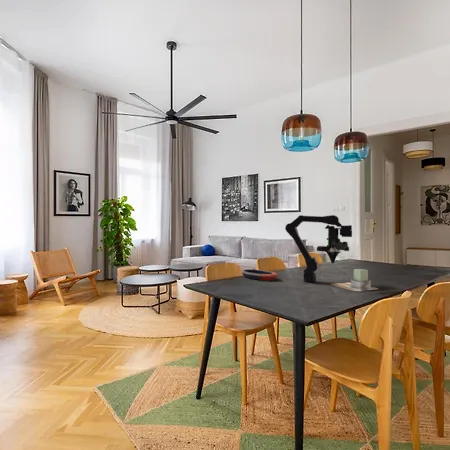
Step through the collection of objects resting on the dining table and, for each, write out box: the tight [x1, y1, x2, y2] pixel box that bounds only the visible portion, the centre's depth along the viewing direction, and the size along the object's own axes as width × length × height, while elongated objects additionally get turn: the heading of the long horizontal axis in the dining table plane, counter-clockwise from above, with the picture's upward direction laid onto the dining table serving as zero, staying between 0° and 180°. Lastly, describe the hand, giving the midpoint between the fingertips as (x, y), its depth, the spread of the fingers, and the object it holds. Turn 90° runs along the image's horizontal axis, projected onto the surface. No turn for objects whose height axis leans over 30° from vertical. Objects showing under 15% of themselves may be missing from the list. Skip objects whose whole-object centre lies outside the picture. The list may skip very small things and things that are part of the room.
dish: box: [240, 268, 279, 281], centre depth 210 cm, size 16×31×5 cm, turn 38°
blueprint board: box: [330, 278, 378, 294], centre depth 176 cm, size 16×20×6 cm
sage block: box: [353, 268, 369, 281], centre depth 171 cm, size 5×5×6 cm
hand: (332, 263), depth 185 cm, fingers closed
